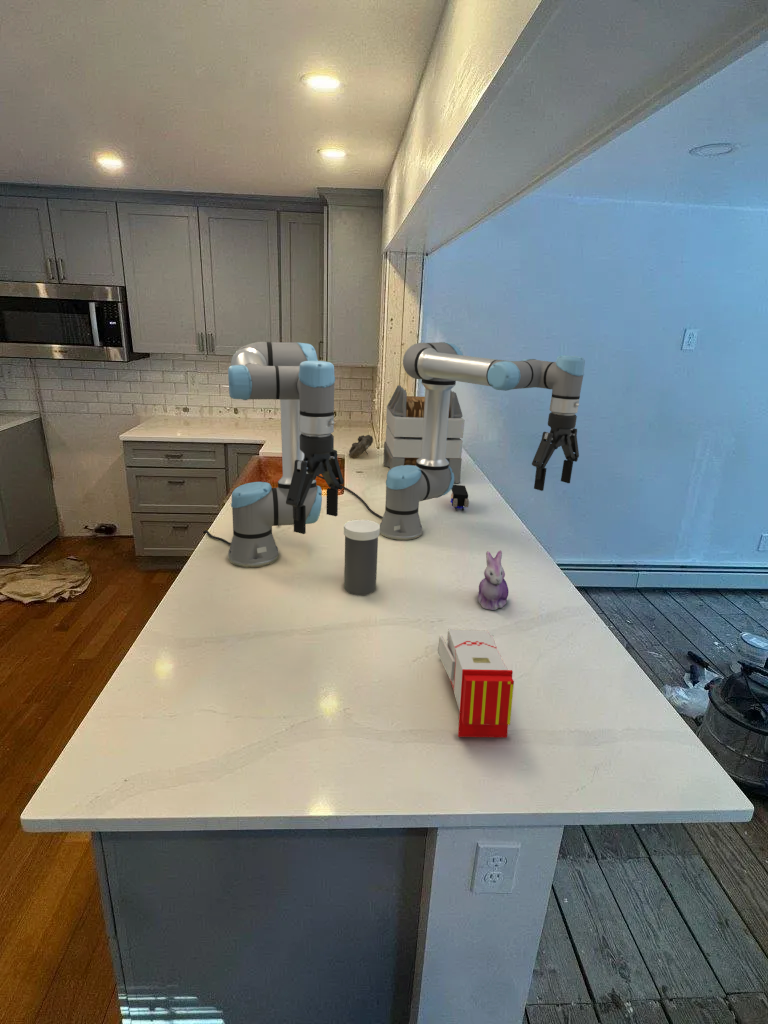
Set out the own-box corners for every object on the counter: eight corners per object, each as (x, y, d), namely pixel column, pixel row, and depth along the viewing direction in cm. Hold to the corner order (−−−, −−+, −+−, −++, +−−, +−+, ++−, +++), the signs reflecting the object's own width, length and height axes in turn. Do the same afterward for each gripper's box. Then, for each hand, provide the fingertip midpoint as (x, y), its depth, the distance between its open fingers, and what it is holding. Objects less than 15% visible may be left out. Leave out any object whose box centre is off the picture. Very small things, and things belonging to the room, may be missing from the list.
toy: (488, 613, 130) (523, 677, 101) (484, 667, 133) (517, 744, 104) (435, 612, 130) (455, 676, 101) (432, 666, 133) (451, 743, 103)
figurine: (490, 614, 149) (496, 562, 144) (467, 597, 157) (472, 547, 152) (518, 607, 153) (525, 556, 148) (494, 591, 162) (500, 542, 156)
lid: (336, 532, 155) (336, 524, 154) (364, 524, 161) (364, 517, 161) (359, 543, 148) (359, 535, 148) (386, 535, 155) (387, 527, 154)
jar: (337, 586, 161) (338, 525, 155) (362, 577, 166) (364, 519, 160) (357, 598, 154) (359, 536, 148) (382, 589, 160) (385, 528, 154)
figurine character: (468, 516, 224) (463, 500, 237) (471, 498, 221) (465, 483, 234) (452, 515, 224) (447, 499, 237) (453, 498, 220) (449, 482, 234)
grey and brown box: (382, 463, 289) (386, 382, 275) (445, 464, 293) (451, 384, 279) (390, 482, 257) (394, 392, 243) (460, 483, 261) (468, 394, 247)
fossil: (349, 441, 314) (370, 425, 309) (359, 454, 317) (380, 439, 312) (342, 454, 295) (365, 438, 290) (354, 468, 298) (376, 453, 293)
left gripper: (297, 446, 113) (298, 544, 120) (359, 426, 134) (356, 511, 141) (267, 441, 116) (270, 537, 123) (332, 423, 137) (331, 505, 144)
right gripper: (548, 419, 148) (537, 496, 155) (598, 411, 163) (586, 482, 171) (525, 414, 153) (515, 489, 160) (575, 407, 169) (564, 476, 176)
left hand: (316, 523), depth 132 cm, fingers open, 13 cm apart
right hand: (552, 485), depth 166 cm, fingers open, 13 cm apart
